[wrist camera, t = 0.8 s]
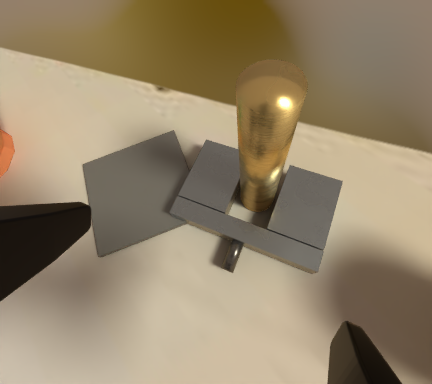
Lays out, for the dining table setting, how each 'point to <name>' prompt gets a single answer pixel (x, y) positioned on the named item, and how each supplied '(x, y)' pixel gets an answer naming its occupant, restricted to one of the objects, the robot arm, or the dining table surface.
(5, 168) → the potted cactus
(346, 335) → the robot arm
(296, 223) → the vise
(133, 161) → the rubber mat
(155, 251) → the dining table surface
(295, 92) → the brass rod
